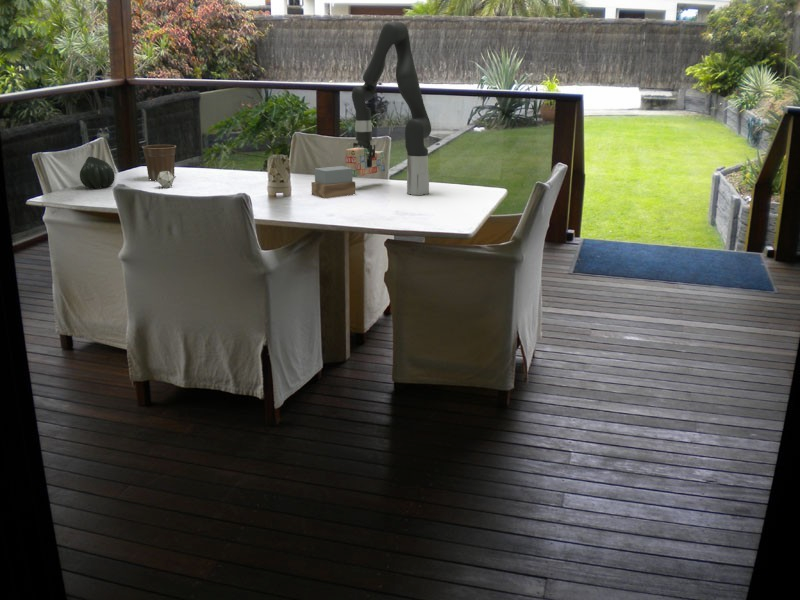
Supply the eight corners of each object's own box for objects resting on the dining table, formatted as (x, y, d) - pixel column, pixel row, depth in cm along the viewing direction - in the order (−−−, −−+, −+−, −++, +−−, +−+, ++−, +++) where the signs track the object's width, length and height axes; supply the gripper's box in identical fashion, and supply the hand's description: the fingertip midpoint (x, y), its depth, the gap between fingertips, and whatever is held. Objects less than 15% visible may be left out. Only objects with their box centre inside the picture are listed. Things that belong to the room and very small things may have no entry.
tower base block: (355, 195, 380) (355, 181, 378) (325, 199, 371) (324, 185, 369) (341, 191, 388) (341, 178, 386) (311, 195, 379) (311, 182, 377)
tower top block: (352, 182, 378) (352, 168, 376) (324, 184, 370) (324, 171, 369) (342, 179, 385) (342, 166, 383) (315, 182, 377) (314, 168, 376)
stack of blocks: (374, 170, 406) (374, 144, 403) (385, 171, 403) (384, 145, 399) (346, 176, 390) (345, 148, 386) (356, 177, 386) (355, 149, 383)
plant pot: (152, 176, 426) (150, 143, 421) (183, 177, 424) (181, 144, 419) (139, 181, 411) (136, 147, 406) (170, 182, 408) (168, 148, 404)
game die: (162, 195, 395) (147, 178, 392) (172, 186, 402) (158, 169, 398) (173, 188, 390) (158, 170, 387) (183, 178, 396) (168, 161, 393)
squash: (123, 176, 392) (108, 149, 395) (94, 181, 381) (78, 154, 384) (113, 193, 402) (98, 167, 404) (84, 199, 391) (69, 172, 393)
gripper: (379, 130, 387) (380, 167, 391) (361, 128, 397) (361, 164, 402) (366, 131, 382) (367, 168, 387) (347, 129, 393) (348, 165, 398)
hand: (364, 166), depth 395 cm, fingers closed on stack of blocks, 7 cm apart
